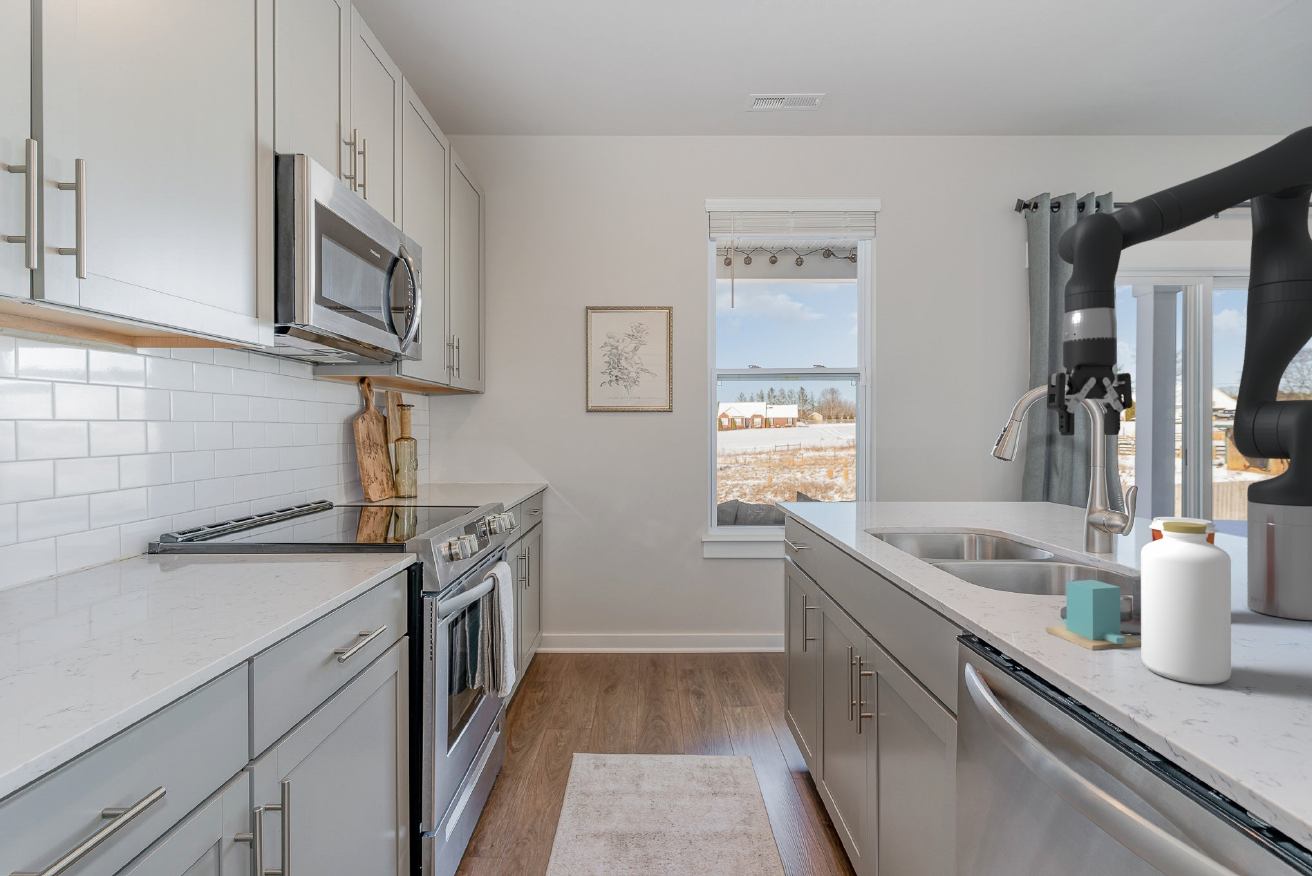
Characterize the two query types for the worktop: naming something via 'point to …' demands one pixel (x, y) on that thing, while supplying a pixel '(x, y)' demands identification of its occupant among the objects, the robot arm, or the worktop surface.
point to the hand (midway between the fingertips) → (1089, 435)
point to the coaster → (1088, 643)
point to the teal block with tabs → (1094, 610)
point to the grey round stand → (1126, 608)
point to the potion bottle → (1186, 606)
